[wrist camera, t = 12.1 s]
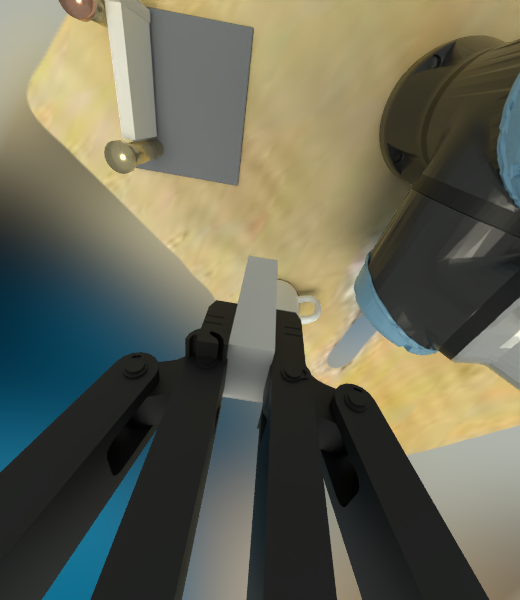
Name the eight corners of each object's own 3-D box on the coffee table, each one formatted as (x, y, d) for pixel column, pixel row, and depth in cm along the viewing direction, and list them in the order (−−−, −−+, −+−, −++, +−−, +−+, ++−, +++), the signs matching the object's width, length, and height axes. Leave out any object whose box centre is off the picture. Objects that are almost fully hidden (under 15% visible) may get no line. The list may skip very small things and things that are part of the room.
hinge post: (167, 137, 38) (132, 143, 29) (168, 162, 40) (135, 175, 31) (144, 132, 38) (102, 138, 29) (146, 158, 40) (107, 170, 31)
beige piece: (157, 136, 36) (133, 140, 31) (144, 134, 36) (117, 138, 30) (149, 10, 30) (116, -17, 24) (133, 7, 30) (96, -20, 24)
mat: (253, 29, 31) (253, 27, 31) (237, 184, 41) (237, 185, 40) (122, 3, 31) (119, 1, 30) (137, 167, 40) (136, 167, 40)
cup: (248, 283, 50) (242, 316, 42) (313, 269, 48) (320, 302, 39) (260, 317, 55) (257, 354, 46) (320, 307, 52) (328, 343, 44)
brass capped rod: (143, 14, 31) (86, -27, 22) (145, 47, 33) (93, 21, 24) (118, 10, 31) (51, -34, 22) (121, 42, 33) (60, 15, 24)
